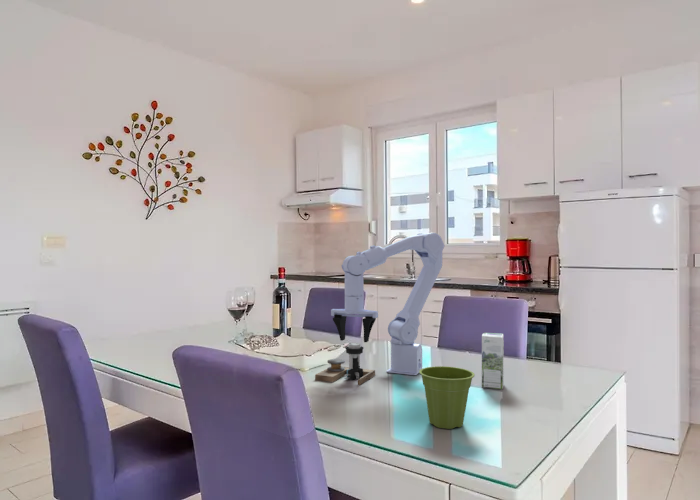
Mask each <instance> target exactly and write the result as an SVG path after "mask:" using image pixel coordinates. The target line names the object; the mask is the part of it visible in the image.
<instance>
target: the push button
mask: <svg viewBox="0 0 700 500" xmlns="http://www.w3.org/2000/svg"><path fill="white" fill-rule="evenodd" d="M344 349H345V352H346V354H348V367H349V369H348V370H347V374H346V375H344V376H343V380H352V381H353V380H358V379H360V378H361V377H363V369H364V368H362V367H361V365H360V364H361V363H360V362H361V361H360V360H361V359H360V356H361V354H363V352H364V351H363V350H364V346H362V345H361V343H359V342H350V343H348V344H347V346H345V348H344Z"/></svg>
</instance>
